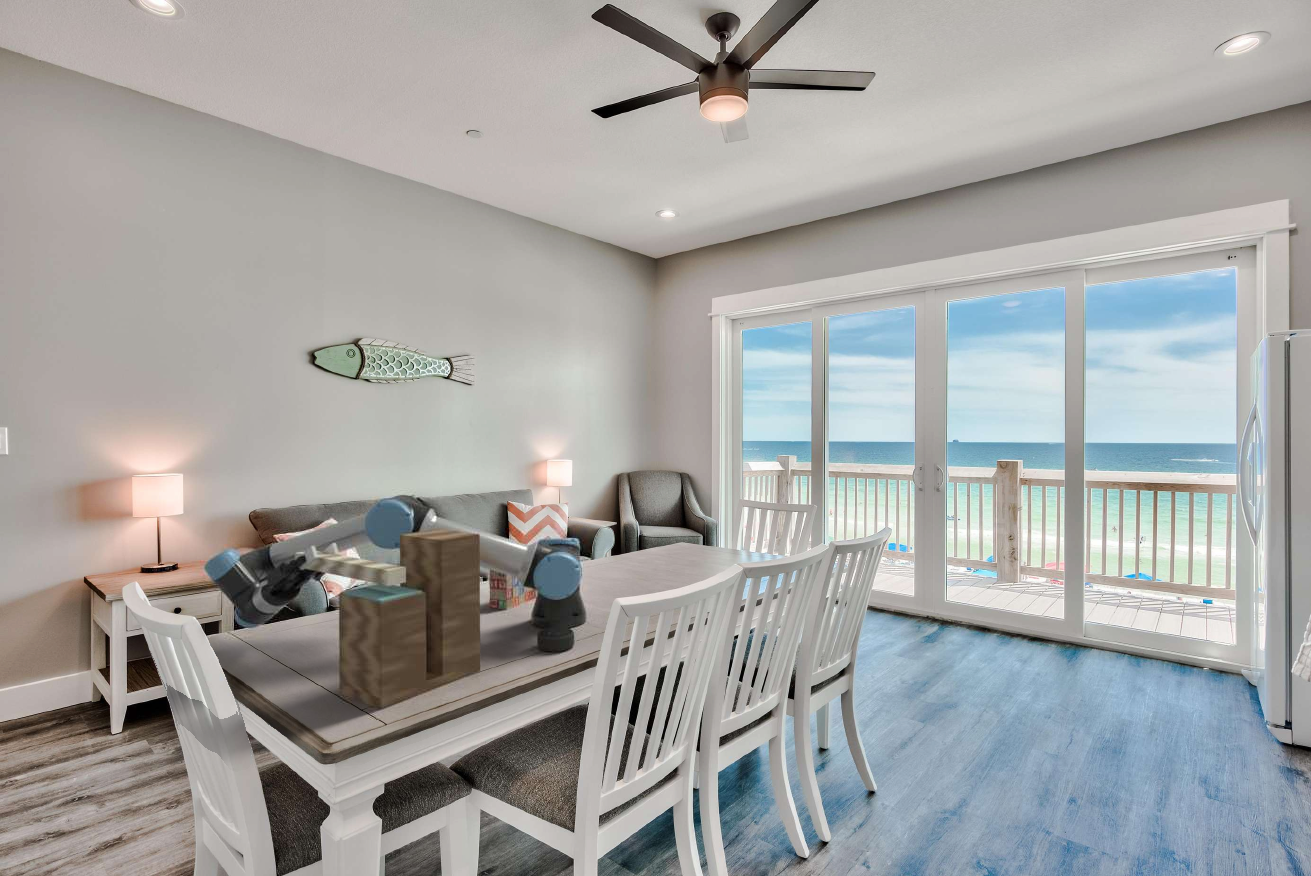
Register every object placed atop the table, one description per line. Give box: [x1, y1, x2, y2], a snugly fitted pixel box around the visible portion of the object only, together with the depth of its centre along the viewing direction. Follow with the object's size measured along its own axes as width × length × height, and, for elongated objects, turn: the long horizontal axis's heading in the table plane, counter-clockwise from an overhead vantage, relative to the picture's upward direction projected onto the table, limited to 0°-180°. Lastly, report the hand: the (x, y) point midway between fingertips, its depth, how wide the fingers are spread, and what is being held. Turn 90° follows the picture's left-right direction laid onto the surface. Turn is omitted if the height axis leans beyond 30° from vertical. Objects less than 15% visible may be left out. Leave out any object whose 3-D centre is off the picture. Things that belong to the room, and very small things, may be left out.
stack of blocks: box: [488, 569, 538, 611], centre depth 204 cm, size 21×6×12 cm, turn 157°
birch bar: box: [295, 551, 406, 586], centre depth 138 cm, size 34×4×3 cm, turn 57°
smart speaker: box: [537, 627, 575, 653], centre depth 160 cm, size 9×9×4 cm
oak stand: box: [338, 529, 481, 710], centre depth 137 cm, size 14×24×30 cm, turn 147°
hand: (325, 550), depth 143 cm, fingers closed on birch bar, 4 cm apart
